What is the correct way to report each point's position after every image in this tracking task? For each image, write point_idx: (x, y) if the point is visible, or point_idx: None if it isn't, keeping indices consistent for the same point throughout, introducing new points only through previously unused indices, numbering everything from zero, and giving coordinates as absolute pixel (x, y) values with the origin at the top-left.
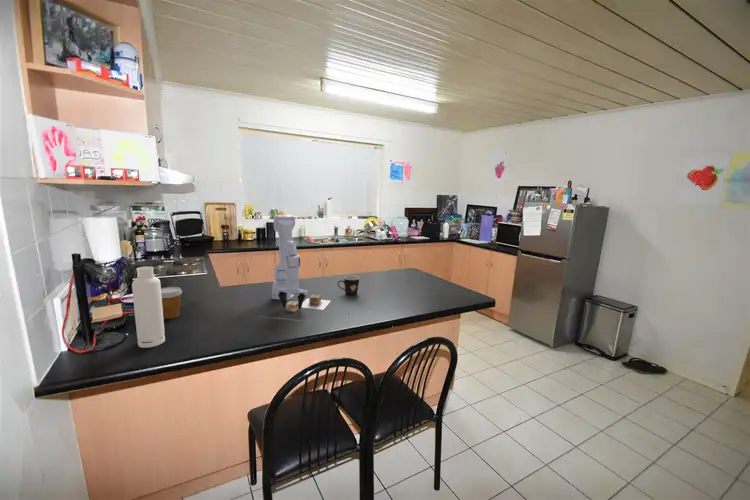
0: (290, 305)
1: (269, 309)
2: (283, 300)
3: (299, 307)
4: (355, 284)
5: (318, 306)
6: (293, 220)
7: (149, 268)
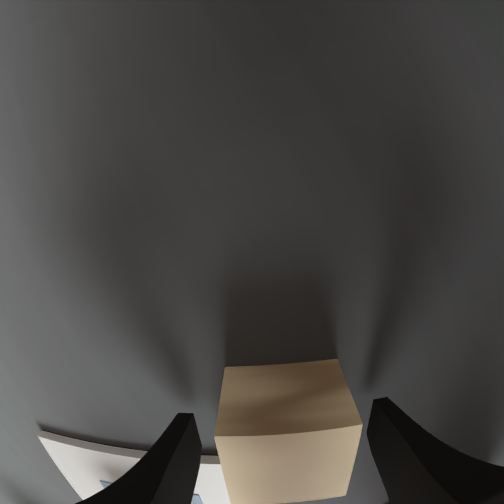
0: (288, 425)
1: (494, 343)
2: (417, 458)
3: (171, 425)
4: None
5: (104, 481)
6: None
7: None
